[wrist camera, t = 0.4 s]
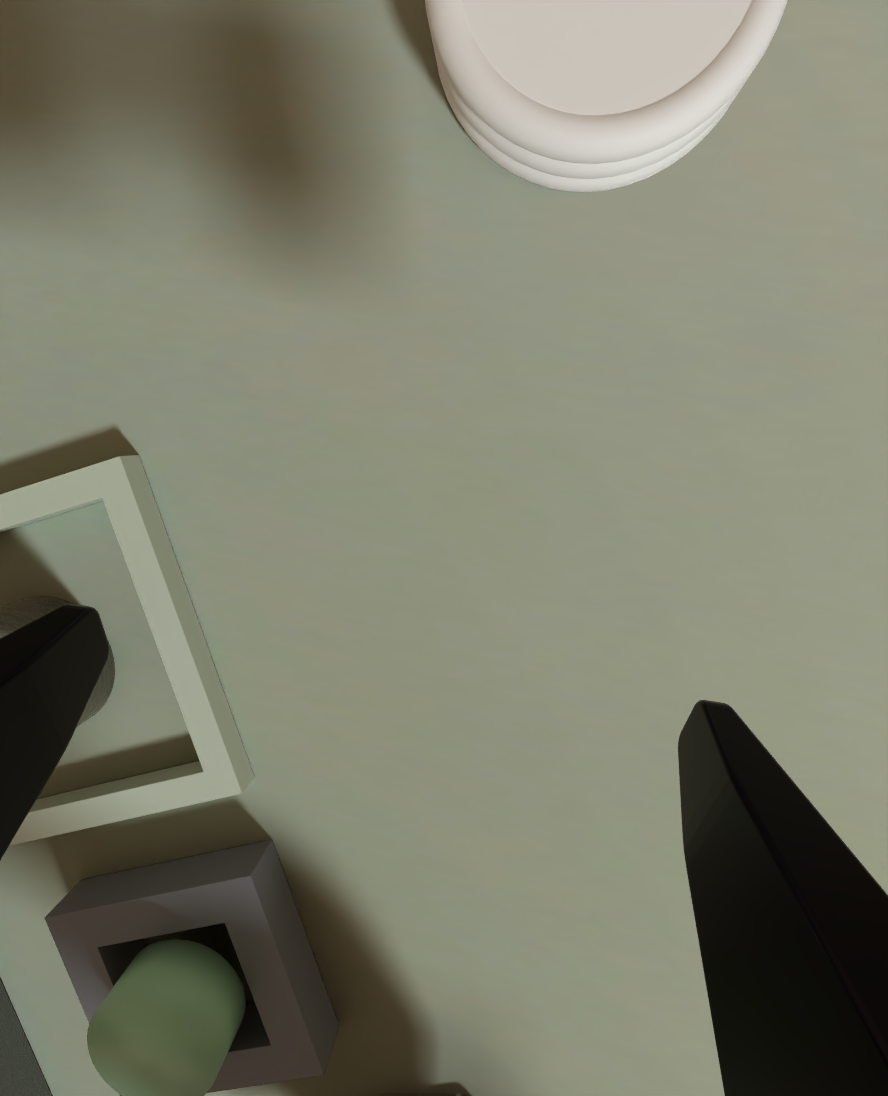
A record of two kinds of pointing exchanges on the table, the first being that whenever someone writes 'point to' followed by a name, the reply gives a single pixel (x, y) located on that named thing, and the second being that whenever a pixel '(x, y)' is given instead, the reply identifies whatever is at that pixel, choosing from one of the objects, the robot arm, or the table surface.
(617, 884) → the table surface
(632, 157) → the coaster
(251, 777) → the white square frame
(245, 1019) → the button housing
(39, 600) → the cylinder
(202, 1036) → the button
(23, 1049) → the grey divided tray
